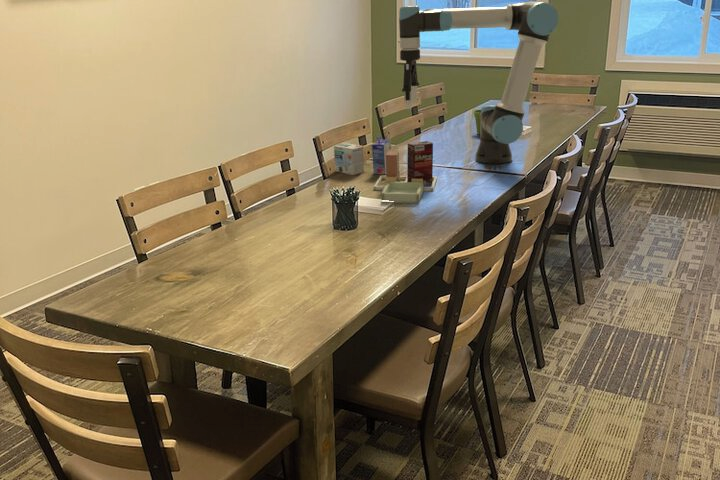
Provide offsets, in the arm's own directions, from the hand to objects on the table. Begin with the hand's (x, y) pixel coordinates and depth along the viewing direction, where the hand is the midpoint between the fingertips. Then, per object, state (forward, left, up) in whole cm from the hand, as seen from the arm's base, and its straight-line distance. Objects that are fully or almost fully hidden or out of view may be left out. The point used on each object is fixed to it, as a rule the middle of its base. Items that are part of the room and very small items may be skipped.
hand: (411, 105), depth 265 cm
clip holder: (0, +18, -27) cm, 32 cm away
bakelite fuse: (+5, +18, -27) cm, 32 cm away
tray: (-1, +34, -27) cm, 43 cm away
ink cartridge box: (+12, -1, -27) cm, 29 cm away
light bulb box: (+25, 0, -27) cm, 37 cm away
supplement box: (-5, +18, -27) cm, 33 cm away
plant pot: (-27, -78, -27) cm, 87 cm away
